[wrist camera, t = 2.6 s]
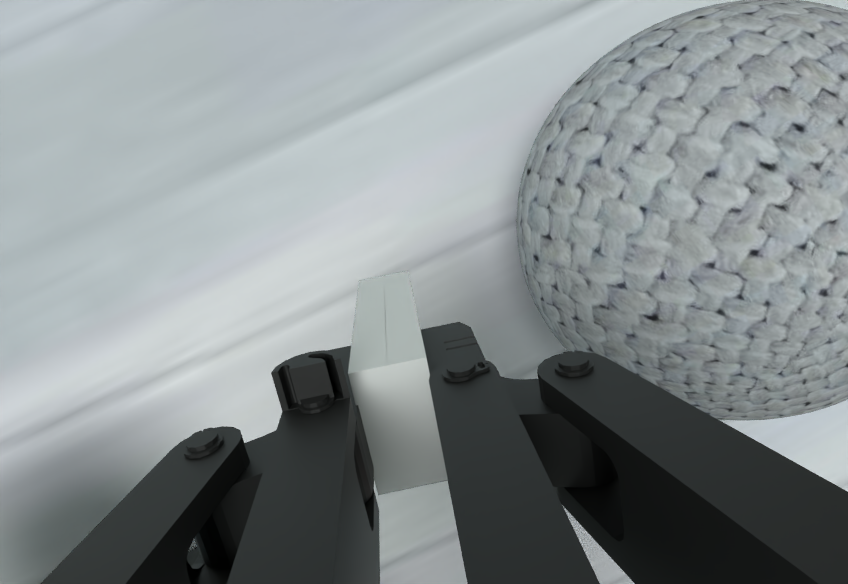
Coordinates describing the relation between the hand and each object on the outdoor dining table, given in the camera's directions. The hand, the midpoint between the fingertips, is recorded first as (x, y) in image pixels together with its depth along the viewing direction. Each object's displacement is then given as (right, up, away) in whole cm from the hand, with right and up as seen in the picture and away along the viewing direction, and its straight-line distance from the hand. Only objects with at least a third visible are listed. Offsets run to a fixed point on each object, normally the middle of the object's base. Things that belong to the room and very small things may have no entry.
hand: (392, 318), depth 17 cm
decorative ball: (+11, +6, +12) cm, 17 cm away
